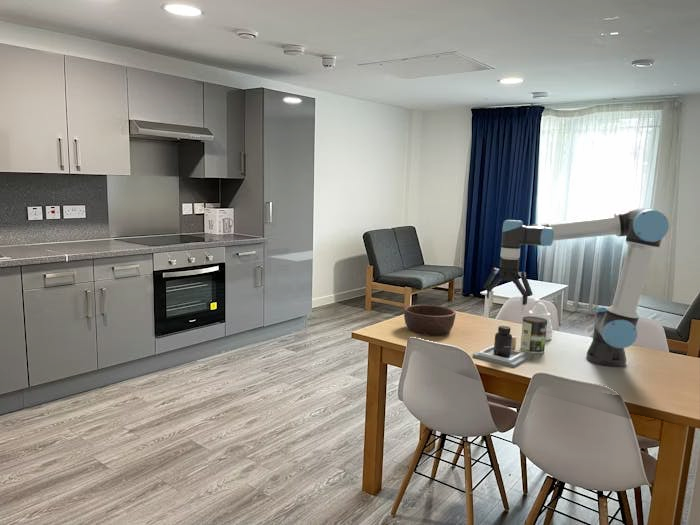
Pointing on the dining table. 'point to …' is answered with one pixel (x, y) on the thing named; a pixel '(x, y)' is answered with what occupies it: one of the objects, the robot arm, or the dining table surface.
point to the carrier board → (512, 360)
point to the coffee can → (533, 335)
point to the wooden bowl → (429, 319)
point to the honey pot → (542, 316)
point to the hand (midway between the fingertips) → (505, 309)
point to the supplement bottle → (503, 342)
